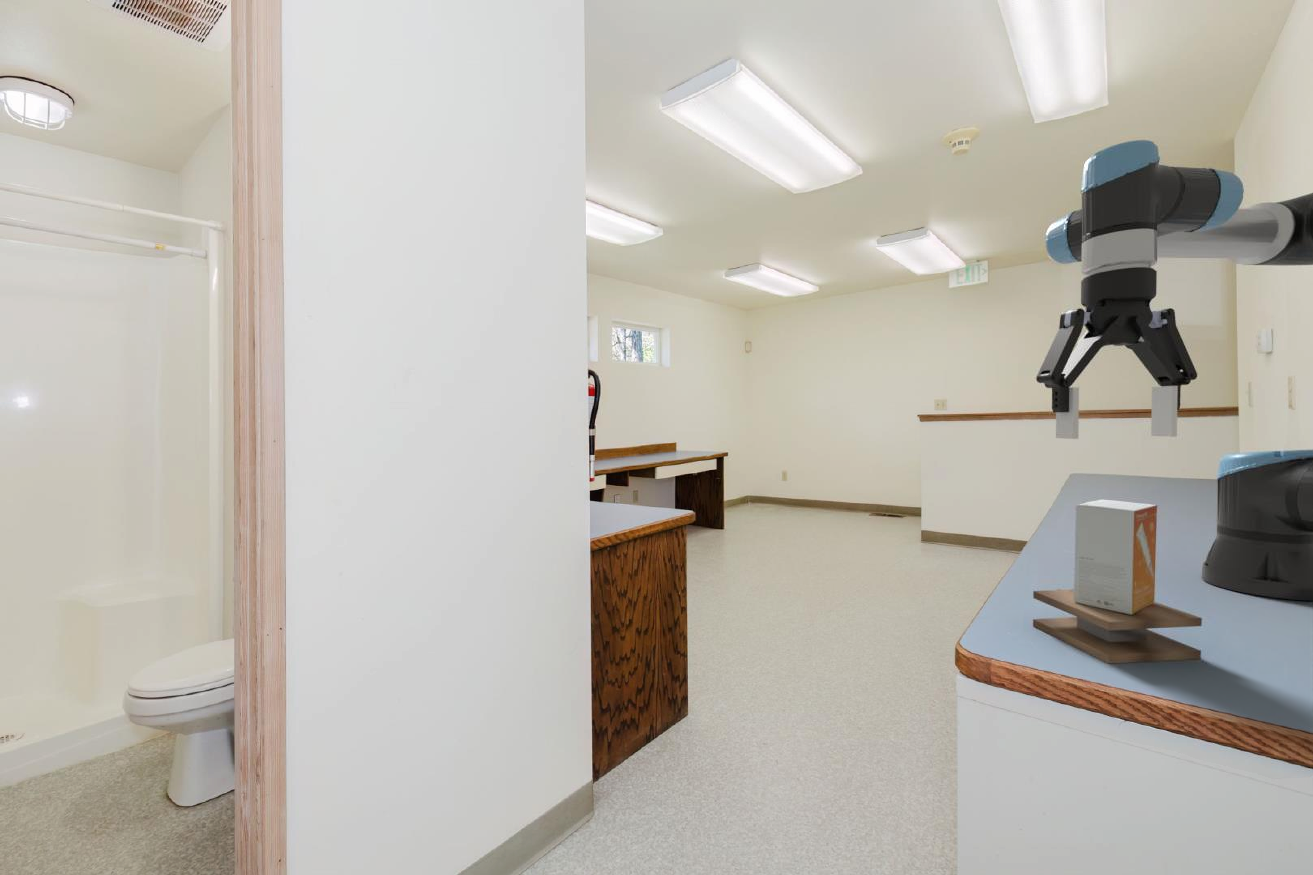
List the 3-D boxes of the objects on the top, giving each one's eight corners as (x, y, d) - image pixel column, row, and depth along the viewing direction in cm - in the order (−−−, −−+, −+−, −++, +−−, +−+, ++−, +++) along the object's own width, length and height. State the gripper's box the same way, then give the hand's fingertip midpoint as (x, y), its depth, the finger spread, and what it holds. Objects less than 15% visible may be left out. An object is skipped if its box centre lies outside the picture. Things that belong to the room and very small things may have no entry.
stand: (1112, 622, 80) (1113, 587, 80) (1200, 658, 68) (1201, 617, 68) (1032, 626, 79) (1033, 590, 79) (1108, 663, 67) (1109, 622, 67)
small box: (1133, 616, 68) (1135, 510, 68) (1072, 602, 74) (1073, 503, 73) (1156, 603, 73) (1158, 503, 72) (1097, 591, 78) (1099, 498, 78)
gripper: (1177, 279, 77) (1174, 434, 78) (1005, 279, 75) (1004, 438, 76) (1238, 265, 69) (1234, 436, 70) (1049, 264, 67) (1048, 440, 68)
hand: (1115, 437), depth 73 cm, fingers open, 13 cm apart
